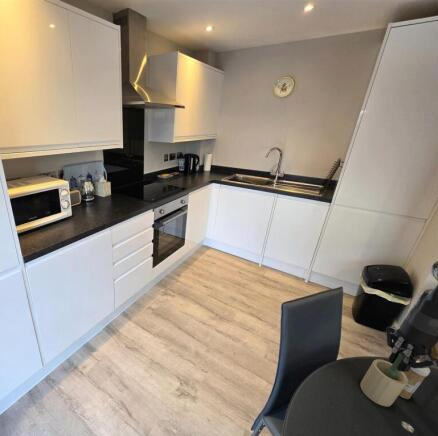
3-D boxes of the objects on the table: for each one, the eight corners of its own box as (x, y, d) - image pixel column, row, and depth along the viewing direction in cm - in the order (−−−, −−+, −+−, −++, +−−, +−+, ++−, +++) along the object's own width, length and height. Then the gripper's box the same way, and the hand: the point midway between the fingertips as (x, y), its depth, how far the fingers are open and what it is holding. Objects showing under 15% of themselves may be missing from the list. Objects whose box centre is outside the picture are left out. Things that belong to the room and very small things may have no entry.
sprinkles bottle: (388, 387, 84) (406, 360, 79) (398, 384, 85) (416, 357, 80) (404, 401, 80) (424, 373, 75) (413, 398, 81) (434, 370, 76)
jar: (386, 388, 84) (401, 366, 79) (396, 411, 77) (412, 389, 73) (357, 376, 87) (370, 355, 83) (363, 398, 80) (377, 375, 76)
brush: (385, 390, 81) (410, 352, 74) (389, 401, 78) (416, 363, 71) (370, 384, 83) (393, 347, 76) (374, 394, 80) (398, 357, 73)
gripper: (466, 345, 63) (433, 389, 69) (411, 306, 76) (387, 347, 82) (439, 345, 62) (408, 389, 69) (388, 306, 75) (366, 346, 82)
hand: (396, 366), depth 76 cm, fingers closed on brush, 2 cm apart
